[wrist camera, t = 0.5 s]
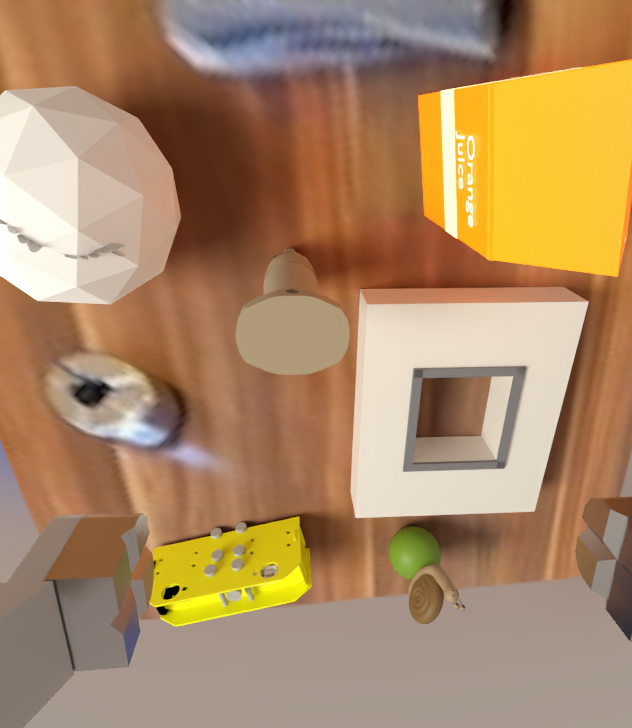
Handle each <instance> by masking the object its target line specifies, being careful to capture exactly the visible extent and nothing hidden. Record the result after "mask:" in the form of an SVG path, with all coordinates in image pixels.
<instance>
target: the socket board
mask: <svg viewBox="0 0 632 728" xmlns="http://www.w3.org/2000/svg"><path fill="white" fill-rule="evenodd" d="M588 303H589V302H588V301H587V300H585V299H583V298H582V297H580V296H578V295H577V294H575V293H573V292H572V291H570V290H568V289H567V288H565V287H500V288H404V289H360V306H359V326H358V347H357V368H356V389H355V409H354V430H353V451H352V471H351V496H352V502H353V507H354V513H355V518H368V517H396V516H424V515H451V514H479V513H507V512H534V511H535V508H536V504H537V500H538V496H539V492H540V488H541V484H542V480H543V477H544V473H545V469H546V465H547V461H548V457H549V453H550V450H551V446H552V442H553V438H554V434H555V430H556V426H557V423H558V419H559V415H560V411H561V407H562V403H563V399H564V396H565V392H566V388H567V384H568V380H569V376H570V372H571V368H572V365H573V361H574V357H575V353H576V349H577V345H578V341H579V338H580V334H581V330H582V326H583V322H584V318H585V314H586V311H587V307H588ZM453 377H492V379H491V385H490V390H489V396H488V401H487V407H486V412H485V418H484V423H483V429H482V434H481V436H456V437H419V438H416V432H417V423H418V414H419V405H420V396H421V388H422V379H423V378H453Z"/></svg>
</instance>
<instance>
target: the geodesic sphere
mask: <svg viewBox="0 0 632 728" xmlns="http://www.w3.org/2000/svg"><path fill="white" fill-rule="evenodd" d="M180 219H181V213H180V208H179V203H178V197H177V192H176V187H175V181H174V176H173V171H172V168H171V166H170V165H169V163H168V162H167V160H166V159H165V157H164V156H163V154H162V153H161V151H160V150H159V148H158V147H157V145H156V144H155V142H154V141H153V139H152V138H151V136H150V135H149V133H148V132H147V130H146V129H145V127H144V126H143V124H142V123H141V121H140V120H139V118H137V117H135V116H133V115H131V114H129V113H127V112H125V111H123V110H121V109H119V108H117V107H115V106H114V105H112V104H110V103H108V102H106V101H104V100H102V99H100V98H98V97H96V96H94V95H92V94H90V93H88V92H86V91H84V90H82V89H80V88H78V87H76V86H70V87H54V88H37V89H21V90H5V91H4V92H3V93H2V94H1V95H0V276H2V277H3V278H5V279H6V280H8V281H9V282H10V283H12V284H13V285H15V286H16V287H18V288H19V289H21V290H22V291H24V292H25V293H27V294H28V295H30V296H31V297H33V298H34V299H36V300H37V301H51V302H73V303H94V304H112V303H113V302H115V301H117V300H118V299H120V298H121V297H123V296H125V295H126V294H128V293H129V292H131V291H133V290H134V289H136V288H137V287H139V286H141V285H142V284H144V283H145V282H147V281H149V280H150V279H152V278H153V277H155V276H157V275H158V274H160V273H161V272H163V271H164V268H165V265H166V262H167V259H168V256H169V253H170V250H171V247H172V243H173V240H174V237H175V234H176V231H177V228H178V225H179V222H180Z"/></svg>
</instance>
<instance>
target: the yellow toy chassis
mask: <svg viewBox="0 0 632 728" xmlns="http://www.w3.org/2000/svg"><path fill="white" fill-rule="evenodd" d="M235 529H236V530H235V531H230V532H226V533H222V531H221V529H220V528H215V529H213V530H212V531H211V533H210V534H211V536H208V537H203V538H199V539H194V540H190V541H184V542H181V543H176V544H171V545H167V546H162V547H158V548H154V551H153V554H152V555H153V562H154V581H153V588H152V595H151V599H150V602H149V603H150V604H151V605H153V606H154V607H156V608H157V610H158V612H159V614H160V615H161V616H160V618H161V619H162V620H164V621H166V622H168V623H170V624H172V625H174V626H175V627H177V626H181V625H186V624H191V623H195V622H200V621H205V620H210V619H215V618H219V617H224V616H229V615H233V614H238V613H243V612H248V611H252V610H257V609H262V608H266V607H271V606H276V605H280V604H285V603H290V602H295V601H296V600H297V599H298V598H299V597H300V596H302V595H303V594H304V593H305V592H306V591H307V590H309V589H310V588H311V587H312V577H311V561H310V548H306V549H305V546H306V543H305V540H304V537H303V534H302V531H301V528H300V518H299V517H294V518H289V519H285V520H280V521H276V522H271V523H267V524H262V525H258V526H253V527H249V528H247V526H246V524H245V523H244V522H241V523H239V524H237V525H236V527H235Z"/></svg>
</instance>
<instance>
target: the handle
mask: <svg viewBox="0 0 632 728" xmlns="http://www.w3.org/2000/svg"><path fill="white" fill-rule="evenodd" d="M236 342H237V347H238V350H239V353H240V354H241V356H242V358H243V359H244V360H245V361H246V363H248V364H250V365H253V366H255V367H257V368H260V369H262V370H265V371H267V372H271V373H274V374H282V375H302V374H311V373H314V372H317V371H320V370H322V369H325V368H327V367H329V366H332V365H334V364H336V363H338V362H339V361H340V360H341V359H342V358H343V356H344V354H345V353H346V350H347V347H348V343H349V325H348V320H347V317H346V315H345V313H344V310H343V309H342V307H341V306H340V304H339V303H338V302H336V301H334V300H332V299H330V298H328V297H326V296H323V295H321V294H319V293H318V282H317V277H316V274H315V271H314V269H313V267H312V265H311V264H310V262H309V260H308V258H307V257H305V256H302V255H301V254H299V253H297V252H295V250H294V249H292V248H288V249H286V250H285V251H284V252H283V253H281V254H279V255H278V256H274V257H273V258H272V260H271V262H270V265H269V266H268V269H267V271H266V274H265V278H264V295H262V296H259V297H257V298H255V299H253V300H251V301H249V302H247V303H246V304H245V305H244V307H243V308H242V310H241V312H240V315H239V318H238V322H237V327H236Z"/></svg>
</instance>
